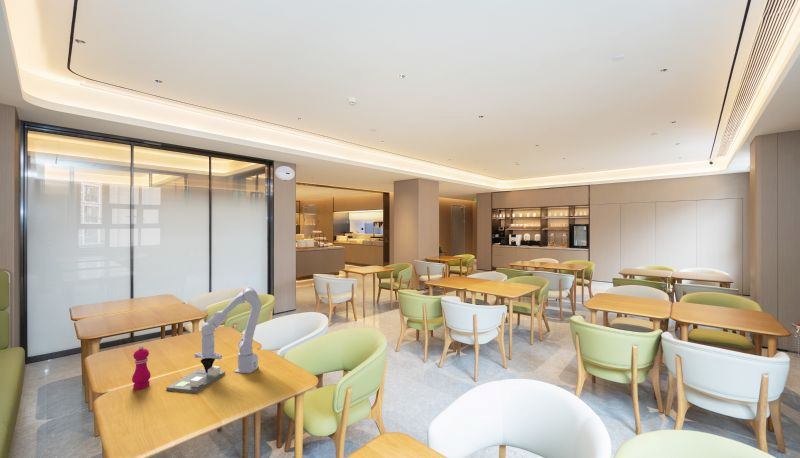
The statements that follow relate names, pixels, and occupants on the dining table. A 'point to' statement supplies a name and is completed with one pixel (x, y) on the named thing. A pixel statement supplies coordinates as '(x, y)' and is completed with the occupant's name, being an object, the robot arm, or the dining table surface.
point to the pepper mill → (141, 369)
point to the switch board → (184, 383)
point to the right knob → (214, 370)
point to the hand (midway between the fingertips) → (208, 372)
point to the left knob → (196, 381)
